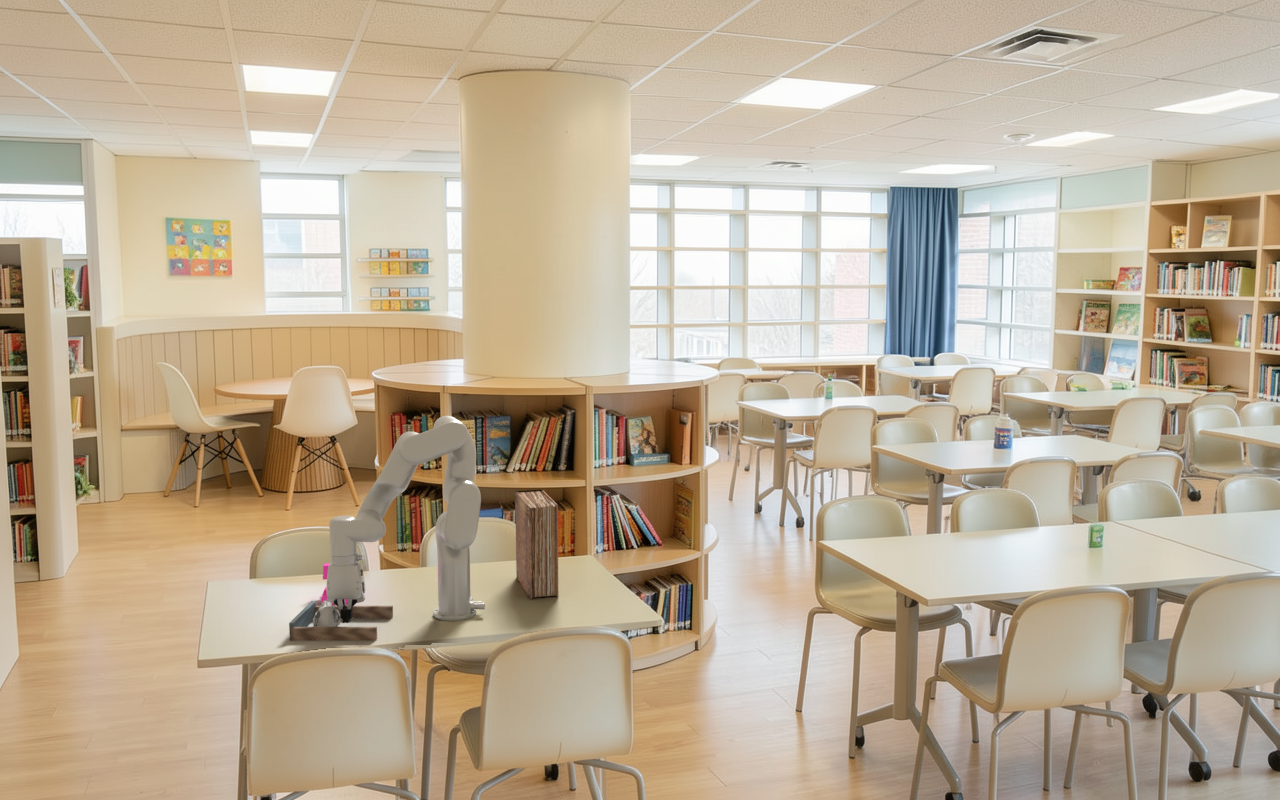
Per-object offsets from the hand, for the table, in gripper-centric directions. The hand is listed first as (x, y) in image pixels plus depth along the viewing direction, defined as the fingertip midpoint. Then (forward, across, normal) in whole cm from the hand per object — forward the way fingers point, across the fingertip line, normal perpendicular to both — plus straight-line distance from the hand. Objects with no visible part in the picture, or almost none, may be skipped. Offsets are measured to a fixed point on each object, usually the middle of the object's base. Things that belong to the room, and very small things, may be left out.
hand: (346, 621), depth 280 cm
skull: (+2, +6, 0) cm, 6 cm away
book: (+3, -51, -39) cm, 64 cm away
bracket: (+3, +10, -27) cm, 28 cm away
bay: (+2, +1, 0) cm, 2 cm away
